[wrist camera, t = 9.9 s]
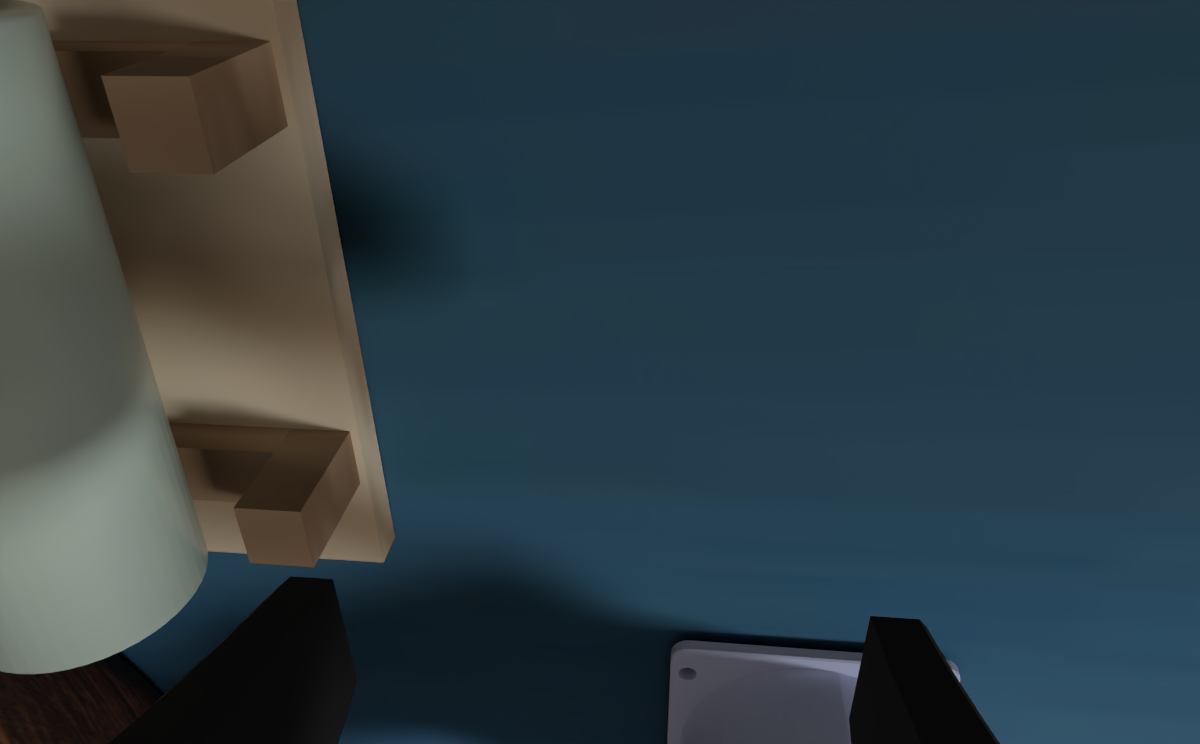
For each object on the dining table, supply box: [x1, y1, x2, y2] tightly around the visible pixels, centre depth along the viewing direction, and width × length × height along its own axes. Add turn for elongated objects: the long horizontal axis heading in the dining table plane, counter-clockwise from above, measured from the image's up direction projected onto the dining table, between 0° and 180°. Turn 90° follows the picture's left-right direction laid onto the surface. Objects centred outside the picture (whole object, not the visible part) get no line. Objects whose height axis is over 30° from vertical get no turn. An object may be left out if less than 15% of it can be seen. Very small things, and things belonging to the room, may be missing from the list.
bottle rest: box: [18, 0, 395, 567], centre depth 19 cm, size 16×10×4 cm, turn 1°
